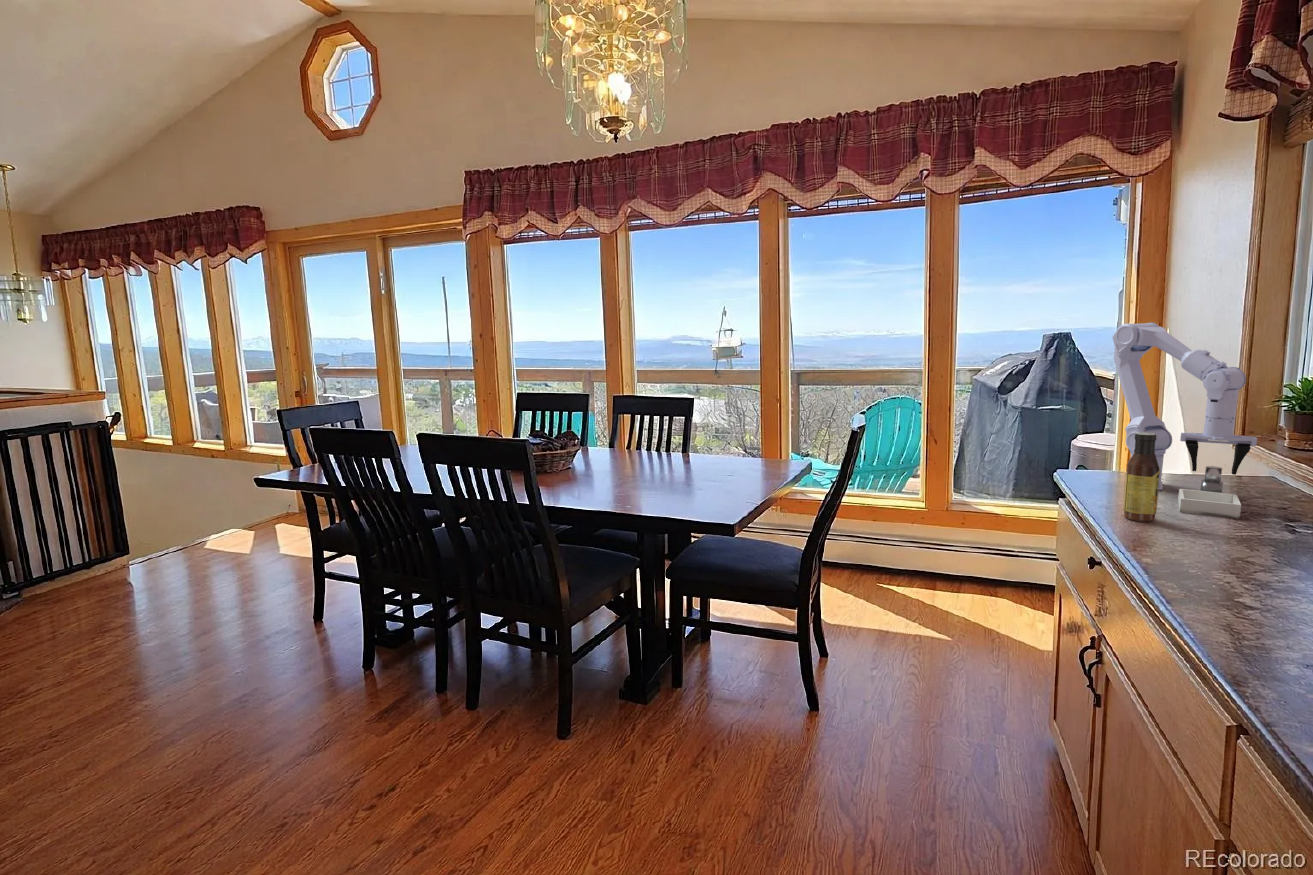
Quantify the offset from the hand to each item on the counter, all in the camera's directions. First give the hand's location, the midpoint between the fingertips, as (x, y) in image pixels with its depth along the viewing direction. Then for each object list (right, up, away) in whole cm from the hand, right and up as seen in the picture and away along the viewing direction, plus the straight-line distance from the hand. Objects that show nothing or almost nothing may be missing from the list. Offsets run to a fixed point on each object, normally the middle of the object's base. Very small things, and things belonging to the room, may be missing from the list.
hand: (1213, 472), depth 173 cm
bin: (-6, -9, -5) cm, 12 cm away
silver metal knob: (0, -6, +1) cm, 6 cm away
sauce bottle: (-26, -10, -11) cm, 30 cm away
